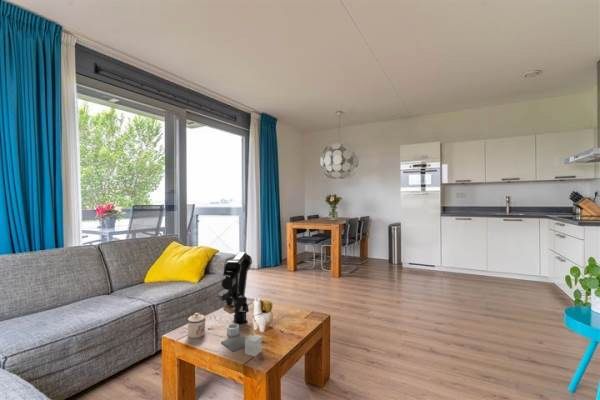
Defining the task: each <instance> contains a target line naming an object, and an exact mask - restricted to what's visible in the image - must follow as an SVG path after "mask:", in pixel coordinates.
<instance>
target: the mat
mask: <svg viewBox="0 0 600 400" xmlns="http://www.w3.org/2000/svg"><path fill="white" fill-rule="evenodd" d="M246 338H247V337H246V336H244V335H243V334H240V333H239V334H238V335H236V336H231V337H230V338H227V339H224V340H221V341H220V343H221V344H222V345H223V346H224V347H226V348H227V349H228V350H230V351H231V352H237V351H239V350H242V349H245V339H246Z"/></svg>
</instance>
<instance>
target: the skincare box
mask: <svg viewBox="0 0 600 400" xmlns="http://www.w3.org/2000/svg"><path fill="white" fill-rule="evenodd" d="M262 351H263V336H262V335H258V334H254V333H251V334H250V335H248V336H247V337H246V339H245V347H244V354H245V355H247V356H250V357H251V356H252V357H257V356H258V355H259V354H260V353H261V352H262Z"/></svg>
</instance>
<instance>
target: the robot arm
mask: <svg viewBox="0 0 600 400" xmlns="http://www.w3.org/2000/svg"><path fill="white" fill-rule="evenodd" d="M252 264H253V259H252V256H250V255H249V254H248V253H247V252H245V251H239V252H237V255H236V256H235V257H234V258H233V259H229V260H227V262H226V263H225V266H224V270H223V276H225V278H224V279H223V280H222V282H221V286H222V288H223V290H220V291H219V292H218V293H217V297H218V300H220V301H221V302H224V301H225V303H226V306H227V305H231V304H234V305H235V312H236V313H234V315H233V320H232V321H233V323H234V324H239V325H242V324H244V323H248V319H247V313H249V305H248V302H247V301H248V300H247V299H248V298H247V297H246V287H247V279H248V272H249V270H251V267H252ZM241 306H242V307H243V310H242V311H239V310H240V308H241Z"/></svg>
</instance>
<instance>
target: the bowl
mask: <svg viewBox="0 0 600 400" xmlns="http://www.w3.org/2000/svg"><path fill="white" fill-rule="evenodd" d="M226 335H227V336H229V337H235V336H238V335H240V324H237V323H230V324H228V325H227V326H226Z"/></svg>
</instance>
